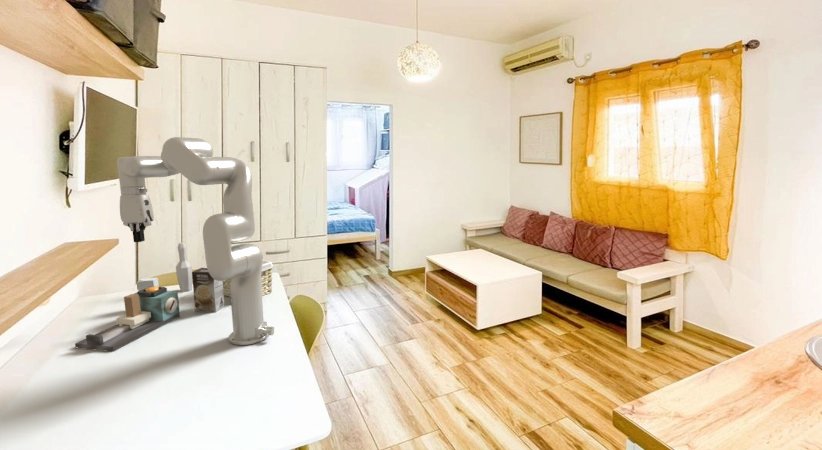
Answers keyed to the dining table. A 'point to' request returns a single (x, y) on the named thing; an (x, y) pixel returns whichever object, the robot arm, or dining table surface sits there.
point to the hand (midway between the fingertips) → (139, 241)
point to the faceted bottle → (184, 270)
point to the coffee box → (207, 291)
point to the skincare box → (147, 283)
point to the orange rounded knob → (151, 289)
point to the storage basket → (265, 280)
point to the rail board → (117, 336)
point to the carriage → (133, 313)
